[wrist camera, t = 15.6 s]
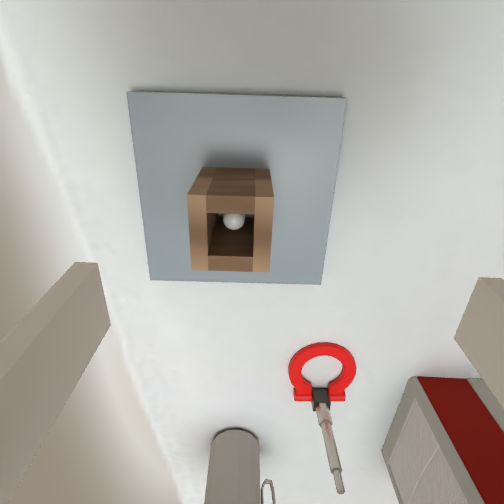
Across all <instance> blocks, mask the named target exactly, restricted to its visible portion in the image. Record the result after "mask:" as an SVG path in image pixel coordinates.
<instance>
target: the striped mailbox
mask: <svg viewBox="0 0 504 504" xmlns="http://www.w3.org/2000/svg"><path fill="white" fill-rule="evenodd" d="M382 454H383V457H384V460H385V463H386V466H387V469H388V472H389V475H390V478H391V481H392V484H393V487H394V489H395V492H396V495H397V498H398V501H399V504H504V408H503V407H502V406H501V404H500V403H499V401H498V400H497V399H496V397H495V396H494V394H493V393H492V392H491V390H490V389H489V387H488V386H487V384H486V383H485V382H484V380H483V379H478V378H467V379H457V378H438V377H420V376H418V377H416V376H414V377H411V378H410V379H409V380H408V382H407V385H406V388H405V390H404V393H403V395H402V398H401V401H400V403H399V406H398V408H397V411H396V414H395V416H394V419H393V421H392V424H391V427H390V429H389V432H388V434H387V437H386V440H385V442H384V445H383V447H382Z"/></svg>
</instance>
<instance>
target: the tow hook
mask: <svg viewBox="0 0 504 504" xmlns="http://www.w3.org/2000/svg"><path fill="white" fill-rule="evenodd" d="M323 355H327V356H332V357H335V358H337V359H338V360H339V361H341V363H342V364H343V371H342V373H341V375H340V376H339V377H338V378H337V379H336V380H335V381H333V382H331V383H329V386H328V390H327V389H312V385H311V383H309V382H307V381H306V380H305V379H304V378H303V377H302V375H301V370H302V367H303V365H304V364H305V363H306V362H307V361H308V360H310V359H312V358H314V357H317V356H323ZM355 375H356V365H355V361H354V358H353V357H352V355H351V353H350V352H349V351H348V350H346V349H345V348H344V347H342V346H340V345H337V344H333V343H316V344H311V345H309V346H307V347H304V348H302V349H301V350H300V351H298V352H297V353H296V354H295V355H294V357H293V358H292V359H291V362H290V364H289V378H290V380H291V383H292V384H293V386H294V387H295V388H296V390H294V400H295V401H311V402H312V407H313V411H316V413H317V418H318V422H319V425H320V427H321V428H322V433H323V437H324V442H325V447H326V452H327V456H328V461H329V466H330V471H331V473H332V474H333V475H334V480H335V484H336V489H337V493H338V494H343V493H344V492H345V490H344V485H343V481H342V477H341V472H342V468H341V464H340V460H339V456H338V452H337V448H336V444H335V439H334V435H333V431H332V427H331V426H332V419H331V415H330V412H329V411H330V404H331V402H330V401H345V391H344V389H345V388H347V387H348V386H349V385H350V383H351V382H352V381H353V379H354V377H355Z"/></svg>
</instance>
